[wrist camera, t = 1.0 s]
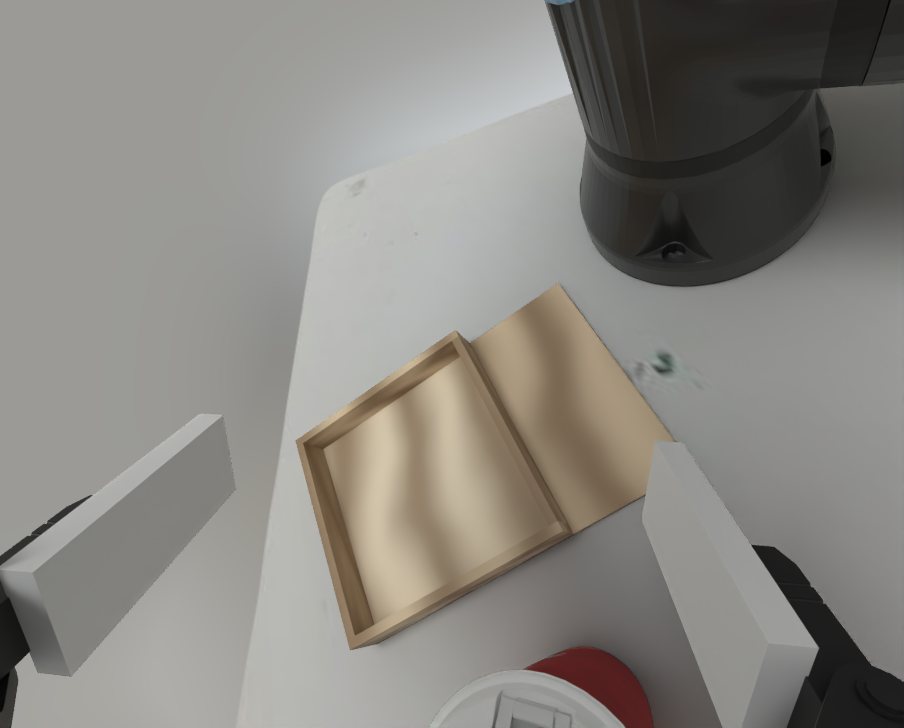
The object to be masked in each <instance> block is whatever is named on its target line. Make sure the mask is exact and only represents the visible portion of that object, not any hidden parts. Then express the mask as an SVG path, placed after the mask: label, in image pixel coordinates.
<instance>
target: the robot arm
mask: <svg viewBox="0 0 904 728" xmlns="http://www.w3.org/2000/svg"><path fill="white" fill-rule="evenodd" d="M545 3H546V6H547V9H548V12H549V16H550V19H551V22H552V26H553V29H554V32H555V36H556V39H557V42H558V45H559V49H560V52H561V55H562V58H563V62H564V65H565V68H566V71H567V74H568V78H569V81H570V84H571V88H572V91H573V94H574V98H575V101H576V104H577V107H578V111H579V114H580V117H581V120H582V123H583V126H584V130H585V133H586V137H587V139H586V146H585V153H584V161H583V170H582V178H581V183H580V206H581V212H582V215H583V219H584V221H585V224H586V227H587V230H588V232H589V235H590V238H591V240H592V242H593V243H594V245H595V247H596V248H597V250H598V251H599V252H600V254H601V255H602V256H603V257H604V258H605V259H606V260H607V261H608V262H610V263H611V264H612V265H613V266H615V267H616V268H618V269H619V270H621V271H623V272H625V273H627V274H628V275H631V276H633V277H635V278H638V279H641V280H644V281H648V282H652V283H657V284H664V285H675V286H691V285H702V284H709V283H715V282H719V281H724V280H728V279H731V278H734V277H737V276H740V275H743V274H745V273H748V272H750V271H752V270H755V269H757V268H759V267H761V266H763V265H765V264H766V263H768V262H770V261H771V260H773V259H775V258H776V257H778V256H779V255H781V254H782V253H783V252H785V251H786V250H787V249H789V248H790V247H791V246H792V245H793V244H794V243H795V242H797V241H798V240H799V239H800V237H801V236H802V235H803V234H804V233H805V232H806V231H807V230H808V228H809V227H810V226H811V224H812V223H813V222H814V220H815V219H816V217H817V215H818V214H819V212H820V210H821V208H822V206H823V203H824V201H825V198H826V195H827V191H828V188H829V185H830V181H831V178H832V174H833V170H834V164H835V141H834V136H833V132H832V129H831V126H830V121H829V118H828V115H827V111H826V108H825V104H824V101H823V98H822V94H821V91H820V88H832V87H846V86H868V85H883V84H897V83H904V0H545ZM235 490H236V487H235V481H234V475H233V469H232V463H231V458H230V452H229V447H228V441H227V435H226V429H225V424H224V418H223V415H212V414H199V415H198V416H197V417H195V418H194V419H193V420H191V421H190V422H189V423H187V424H186V425H185V426H184V427H182V428H181V429H180V430H178V431H177V432H176V433H174V434H173V435H172V436H170V437H169V438H168V439H166V440H165V441H164V442H162V443H161V444H160V445H158V446H157V447H156V448H154V449H153V450H152V451H150V452H149V453H148V454H147V455H145V456H144V457H143V458H141V459H140V460H139V461H137V462H136V463H135V464H133V465H132V466H131V467H129V468H128V469H127V470H126V471H124V472H123V473H122V474H120V475H119V476H118V477H117V478H115V479H114V480H112V481H111V482H110V483H108V484H107V485H106V486H105V487H103V488H102V489H101V490H99V491H98V492H97V493H95V494H94V495H90V496H88V497H86V498H84V499H82V500H80V501H78V502H76V503H74V504H72V505H69V506H68V507H66V508H65V509H63V510H62V511H60V512H59V513H58V514H56V515H55V516H54V517H52V518H51V519H50V520H48V522H47V524H43V525H42V526H40V527H39V528H37V529H36V530H35V531H33V532H32V535H31V536H27V537H25V538H24V539H23V540H21V541H20V542H19V543H17V544H16V545H15V546H13V547H12V548H11V549H9V550H8V551H7V552H5V553H4V554H2V555H1V556H0V728H11V725H12V718H13V712H14V705H15V698H16V692H17V686H18V677H17V672H16V670H15V665H16V664H17V663H19V662H20V661H21V660H22V659H23V657H25V656H26V655H27V654H28V653H29V652H30V655H31V657H32V659H33V662H34V665H35V667H36V670H37V672H38V673H45V674H53V675H62V676H70V677H71V676H72V675H73V674H74V673H75V672H76V671H77V670H78V668H79V667H80V666H81V665H82V664H83V663H84V662H85V661H86V659H87V658H88V657H89V656H90V655H91V654H92V652H93V651H94V650H95V649H96V648H97V647H98V646H99V645H100V643H101V642H102V641H103V640H104V639H105V638H106V637H107V635H108V634H109V633H110V632H111V631H112V630H113V629H114V628H115V626H116V625H117V624H118V623H119V622H120V621H121V619H122V618H123V617H124V616H125V615H126V614H127V613H128V612H129V610H130V609H131V608H132V607H133V606H134V605H135V604H136V602H137V601H138V600H139V599H140V598H141V597H142V596H143V595H144V593H145V592H146V591H147V590H148V589H149V588H150V587H151V585H152V584H153V583H154V582H155V581H156V579H158V577H159V576H160V575H161V574H162V573H163V572H164V571H165V569H166V568H167V567H168V566H169V565H170V564H171V563H172V561H173V560H174V559H175V558H176V557H177V556H178V555H179V554H180V552H181V551H182V550H183V549H184V548H185V547H186V546H187V544H188V543H189V542H190V541H191V540H192V539H193V538H194V537H195V535H196V534H197V533H198V532H199V531H200V530H201V529H202V527H203V526H204V525H205V524H206V523H207V522H208V521H209V519H210V518H211V517H212V516H213V515H214V514H215V513H216V511H217V510H218V509H219V508H220V507H221V506H222V505H223V504H224V502H225V501H226V500H227V499H228V498H229V497H230V496H231V494H232V493H233V492H234V491H235ZM641 520H642V522H643V525H644V528H645V530H646V533H647V535H648V538H649V540H650V543H651V546H652V548H653V551H654V553H655V556H656V558H657V561H658V563H659V566H660V569H661V571H662V574H663V576H664V579H665V581H666V584H667V587H668V589H669V592H670V594H671V597H672V599H673V602H674V605H675V607H676V610H677V612H678V615H679V617H680V620H681V623H682V625H683V628H684V630H685V633H686V635H687V638H688V640H689V643H690V646H691V648H692V651H693V653H694V656H695V658H696V661H697V664H698V666H699V669H700V671H701V674H702V676H703V679H704V682H705V684H706V687H707V689H708V692H709V694H710V697H711V699H712V702H713V705H714V707H715V710H716V712H717V715H718V717H719V720H720V723H721V725H722V728H904V682H902V681H901V680H899V679H898V678H896V677H895V676H893V675H892V674H890V673H887V672H885V671H883V670H880V669H878V668H876V667H873V666H871V664H870V663H869V661H868V660H867V659H866V657H865V656H864V655H863V653H862V652H861V651H860V649H859V648H858V647H857V645H856V644H855V643H854V641H853V640H852V639H851V637H850V636H849V635H848V633H847V632H846V631H845V629H844V628H843V627H842V625H841V624H840V623H839V621H838V620H837V619H836V617H835V616H834V615H833V613H832V612H831V611H830V609H829V608H828V607H827V605H826V604H823V600H822V598H821V597H820V596H819V594H818V593H817V592H816V590H815V589H814V588H812V587H811V586H810V582H809V581H808V580H807V578H806V577H805V576H804V574H803V573H802V572H801V570H800V569H799V568H798V566H797V565H796V564H795V563H794V562H792V561H791V560H790V559H789V558H787V557H786V556H785V555H784V554H782V553H781V552H780V551H779V550H777V549H776V548H775V547H769V546H756V545H750V543H749V542H748V540H747V539H746V537H745V536H744V534H743V532H742V531H741V529H740V528H739V526H738V525H737V523H736V522H735V520H734V519H733V517H732V516H731V514H730V513H729V511H728V510H727V508H726V507H725V505H724V504H723V502H722V501H721V499H720V498H719V496H718V495H717V493H716V492H715V490H714V489H713V487H712V486H711V484H710V483H709V481H708V480H707V478H706V477H705V475H704V474H703V472H702V471H701V469H700V467H699V466H698V464H697V463H696V461H695V460H694V458H693V457H692V455H691V454H690V452H689V451H688V449H687V448H686V446H685V445H684V443H683V442H670V441H655V444H654V450H653V456H652V461H651V467H650V473H649V478H648V484H647V490H646V496H645V501H644V507H643V513H642V518H641Z"/></svg>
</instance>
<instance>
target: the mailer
mask: <svg viewBox="0 0 904 728" xmlns="http://www.w3.org/2000/svg"><path fill="white" fill-rule="evenodd" d="M655 441H670V442H675V441H674V439H673V438H672V437H671V435H670V434H669V433H668V431H667V430H666V428H665V427H664V426H663V424H662V423H661V422H660V420H659V419H658V418H657V416H656V415H655V414H654V412H653V411H652V409H651V408H650V407H649V405H648V404H647V403H646V401H645V400H644V399H643V397H642V396H641V395H640V393H639V392H638V390H637V389H636V388H635V386H634V385H633V384H632V382H631V381H630V380H629V378H628V377H627V376H626V374H625V373H624V371H623V370H622V369H621V367H620V366H619V365H618V363H617V362H616V361H615V359H614V358H613V357H612V355H611V354H610V352H609V351H608V350H607V348H606V347H605V346H604V344H603V343H602V342H601V340H600V339H599V338H598V336H597V335H596V333H595V332H594V331H593V329H592V328H591V327H590V325H589V324H588V323H587V321H586V320H585V319H584V317H583V316H582V315H581V313H580V312H579V310H578V309H577V308H576V306H575V305H574V304H573V302H572V301H571V300H570V298H569V297H568V296H567V294H566V293H565V291H564V290H563V289H562V287H561V286H560V285H559V283H558V284H556V285H555V286H553V287H552V288H551V289H549V290H548V291H546V292H545V293H543V294H542V295H540V296H539V297H537V298H536V299H534V300H533V301H531V302H530V303H529V304H527V305H526V306H524V307H523V308H521V309H520V310H518V311H517V312H515V313H514V314H512V315H511V316H510V317H508V318H507V319H505V320H504V321H502V322H501V323H499V324H498V325H496V326H495V327H493V328H492V329H490V330H489V331H488V332H486V333H485V334H483V335H482V336H480V337H479V338H477V339H476V340H474V341H473V342H471V343H469V342H468V341H467V340H466V339H465V338H463V337H462V336H461V335H460V334H459V333H458V332H457V331H456V330H455V331H453V332H452V333H450V334H449V335H447V336H446V337H444V338H443V339H442V340H440V341H439V342H437V343H436V344H434V345H433V346H431V347H430V348H429V349H427V350H426V351H424V352H423V353H421V354H420V355H419V356H417V357H416V358H414V359H413V360H411V361H410V362H408V363H407V364H406V365H404V366H403V367H401V368H400V369H398V370H397V371H395V372H394V373H393V374H391V375H390V376H388V377H387V378H385V379H384V380H382V381H381V382H380V383H378V384H377V385H375V386H374V387H372V388H371V389H370V390H368V391H367V392H365V393H364V394H362V395H361V396H359V397H358V398H357V399H355V400H354V401H352V402H351V403H349V404H348V405H346V406H345V407H344V408H342V409H341V410H339V411H338V412H336V413H335V414H333V415H332V416H331V417H329V418H328V419H326V420H325V421H323V422H322V423H321V424H319V425H318V426H316V427H315V428H313V429H312V430H310V431H309V432H308V433H306V434H305V435H303V436H302V437H300V438H299V439H297V440H296V444H297V448H298V452H299V455H300V459H301V463H302V467H303V471H304V475H305V478H306V482H307V486H308V490H309V494H310V498H311V501H312V505H313V509H314V513H315V517H316V521H317V525H318V528H319V532H320V536H321V540H322V544H323V548H324V551H325V555H326V559H327V563H328V567H329V571H330V575H331V578H332V582H333V586H334V590H335V594H336V598H337V601H338V605H339V609H340V613H341V617H342V621H343V624H344V628H345V632H346V636H347V640H348V644H349V648H350V650H353V649H357V648H362V647H366V646H371V645H375V644H378V643H380V642H382V641H384V640H385V639H387V638H389V637H391V636H393V635H394V634H396V633H398V632H400V631H402V630H403V629H405V628H407V627H409V626H411V625H412V624H414V623H416V622H418V621H420V620H421V619H423V618H425V617H427V616H429V615H430V614H432V613H434V612H436V611H438V610H439V609H441V608H443V607H445V606H447V605H448V604H450V603H452V602H454V601H456V600H457V599H459V598H461V597H463V596H465V595H466V594H468V593H470V592H472V591H474V590H475V589H477V588H479V587H481V586H483V585H484V584H486V583H488V582H490V581H492V580H493V579H495V578H497V577H499V576H501V575H502V574H504V573H506V572H508V571H510V570H511V569H513V568H515V567H517V566H519V565H520V564H522V563H524V562H526V561H528V560H529V559H531V558H533V557H535V556H537V555H538V554H540V553H542V552H544V551H546V550H547V549H549V548H551V547H553V546H555V545H556V544H558V543H560V542H562V541H564V540H565V539H567V538H569V537H571V536H573V535H574V534H576V533H578V532H580V531H582V530H583V529H585V528H587V527H589V526H591V525H592V524H594V523H596V522H598V521H600V520H601V519H603V518H605V517H607V516H609V515H610V514H612V513H614V512H616V511H618V510H619V509H621V508H623V507H625V506H627V505H628V504H630V503H632V502H634V501H636V500H637V499H639V498H641V497H643V496H645V495H646V490H647V484H648V478H649V473H650V467H651V461H652V456H653V450H654V444H655Z"/></svg>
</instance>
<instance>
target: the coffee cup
mask: <svg viewBox="0 0 904 728" xmlns="http://www.w3.org/2000/svg"><path fill="white" fill-rule="evenodd" d="M429 728H654V727H653V721H652V716H651V711H650V707H649V704H648V701H647V698H646V695H645V693H644V691H643V689H642V687H641V685H640V683H639V682H638V680H637V679H636V677H635V676H634V675H633V673H632V672H631V671H630V670H629V669H628V668H627V667H626V666H625V665H624V664H623V663H622V662H621V661H620V660H618V659H617V658H615V657H614V656H612V655H611V654H609V653H607V652H604V651H602V650H599V649H596V648H591V647H576V648H571V649H567V650H564V651H562V652H559V653H556V654H554V655H552V656H550V657H548V658H545V659H543V660H541V661H539V662H537V663H535V664H533V665H531V666H529V667H526V668H524V669H522V670H505V671H500V672H496V673H491V674H488V675H486V676H483V677H481V678H479V679H476V680H474V681H472V682H471V683H469V684H468V685H466V686H465V687H463V688H462V689H460V690H459V691H457V692H456V693H455V694H454V695H453V696H452V697H451V698H450V699H449V700H448V701H447V702H446V703H445V704H444V705H443V707H442V708H441V710H440V711H439V712H438V714H437V715H436V717H435V718H434V719H433V721H432V723H431V725H430V727H429Z"/></svg>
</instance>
